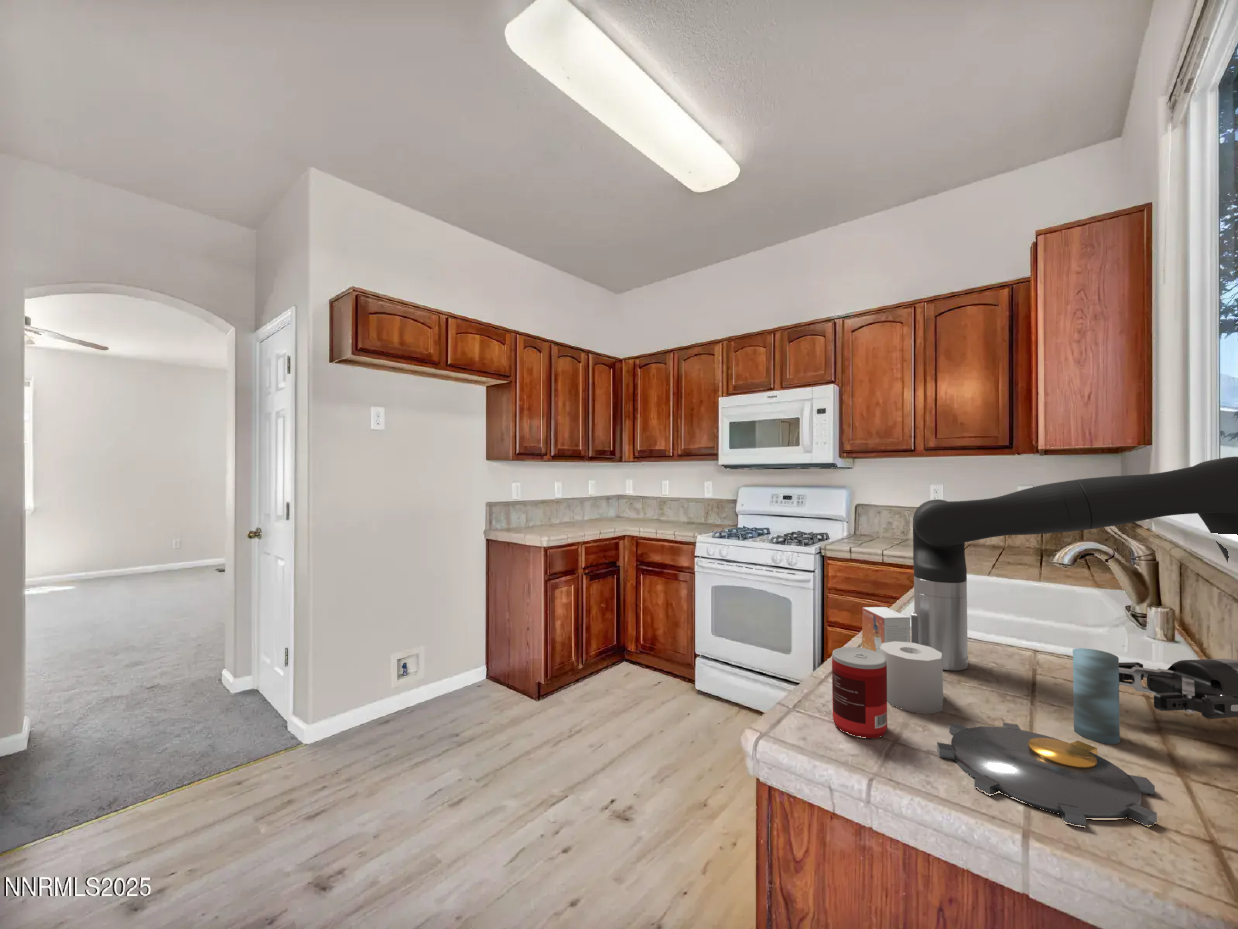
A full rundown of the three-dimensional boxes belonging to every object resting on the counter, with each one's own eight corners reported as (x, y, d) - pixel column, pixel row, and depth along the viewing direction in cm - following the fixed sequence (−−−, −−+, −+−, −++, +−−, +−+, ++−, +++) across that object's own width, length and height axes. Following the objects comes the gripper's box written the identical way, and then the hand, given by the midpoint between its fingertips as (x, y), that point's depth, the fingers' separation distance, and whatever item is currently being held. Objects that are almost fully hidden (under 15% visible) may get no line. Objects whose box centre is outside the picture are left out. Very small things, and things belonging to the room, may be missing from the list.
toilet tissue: (944, 689, 93) (943, 641, 93) (940, 719, 82) (940, 664, 82) (888, 678, 98) (887, 632, 98) (877, 704, 87) (877, 653, 87)
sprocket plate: (922, 772, 67) (922, 760, 67) (961, 716, 83) (960, 706, 83) (1159, 858, 52) (1159, 843, 52) (1152, 770, 68) (1152, 758, 68)
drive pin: (1072, 735, 77) (1071, 654, 77) (1075, 723, 80) (1074, 646, 80) (1119, 748, 73) (1118, 663, 73) (1120, 735, 77) (1118, 654, 77)
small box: (861, 656, 109) (861, 606, 109) (886, 655, 110) (886, 606, 110) (884, 671, 101) (883, 617, 101) (911, 670, 102) (910, 616, 102)
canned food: (883, 719, 82) (882, 649, 82) (891, 744, 74) (891, 667, 74) (831, 711, 84) (830, 644, 84) (834, 735, 77) (833, 661, 77)
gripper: (1166, 645, 86) (1077, 648, 84) (1284, 679, 72) (1180, 684, 70) (1167, 690, 86) (1078, 694, 84) (1285, 733, 72) (1180, 739, 70)
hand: (1124, 689), depth 77 cm, fingers open, 8 cm apart
